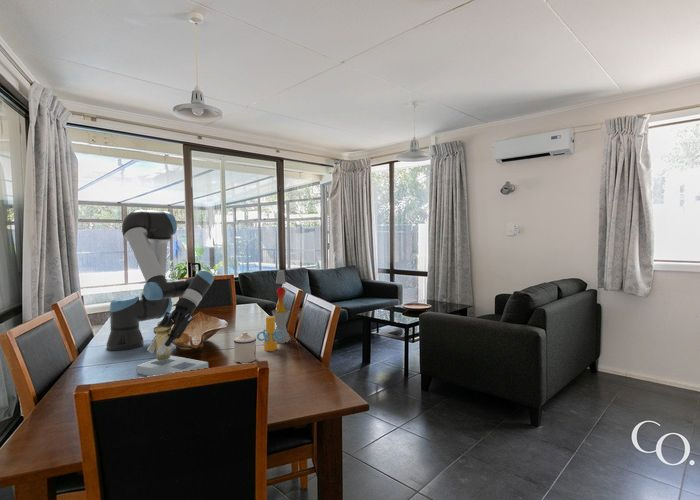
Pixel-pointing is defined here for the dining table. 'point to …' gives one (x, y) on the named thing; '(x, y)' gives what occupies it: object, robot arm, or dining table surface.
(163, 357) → the brass sleeve
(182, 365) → the jig plate
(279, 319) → the lava lamp
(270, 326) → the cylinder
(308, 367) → the dining table surface
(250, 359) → the teacup with lid
